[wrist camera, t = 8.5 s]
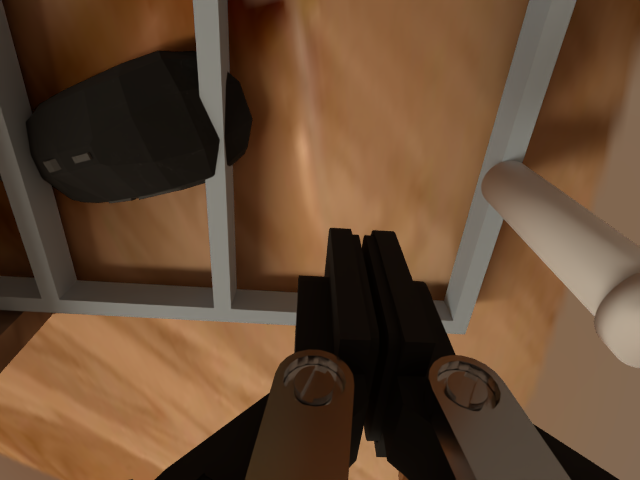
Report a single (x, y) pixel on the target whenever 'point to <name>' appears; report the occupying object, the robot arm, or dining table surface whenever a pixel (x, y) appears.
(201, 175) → the gaming mouse
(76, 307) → the gray frame
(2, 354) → the tunnel
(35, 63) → the dining table surface
